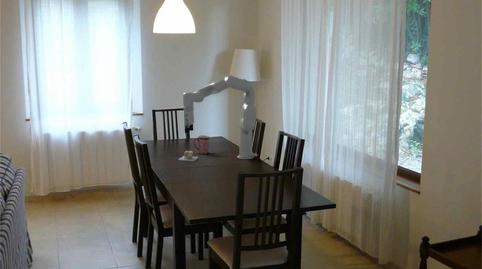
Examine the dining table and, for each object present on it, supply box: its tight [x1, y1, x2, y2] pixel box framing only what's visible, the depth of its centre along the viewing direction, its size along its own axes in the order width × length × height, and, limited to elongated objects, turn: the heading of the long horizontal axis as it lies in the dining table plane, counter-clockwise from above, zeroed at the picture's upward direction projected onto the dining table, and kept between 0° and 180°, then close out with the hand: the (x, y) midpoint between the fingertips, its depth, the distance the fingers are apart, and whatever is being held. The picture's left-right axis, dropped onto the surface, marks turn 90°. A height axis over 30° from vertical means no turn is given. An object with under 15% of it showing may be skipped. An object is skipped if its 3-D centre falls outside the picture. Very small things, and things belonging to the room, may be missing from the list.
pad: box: [177, 155, 199, 162], centre depth 391 cm, size 12×12×1 cm
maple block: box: [183, 150, 194, 159], centre depth 391 cm, size 5×5×5 cm
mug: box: [192, 135, 210, 155], centre depth 411 cm, size 13×9×14 cm
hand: (189, 131), depth 387 cm, fingers open, 9 cm apart
